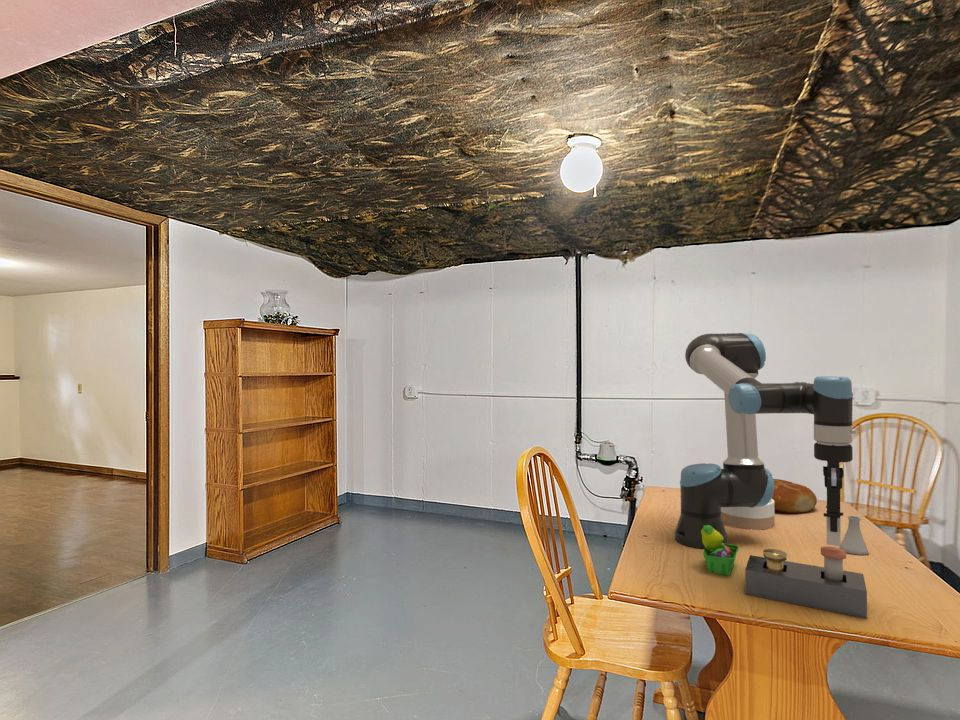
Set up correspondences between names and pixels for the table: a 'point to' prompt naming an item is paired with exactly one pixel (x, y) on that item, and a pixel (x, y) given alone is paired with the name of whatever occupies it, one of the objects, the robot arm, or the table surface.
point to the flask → (854, 538)
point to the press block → (807, 587)
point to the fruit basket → (717, 551)
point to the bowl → (749, 516)
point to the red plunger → (833, 563)
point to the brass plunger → (775, 559)
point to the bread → (792, 497)
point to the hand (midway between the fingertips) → (833, 544)
